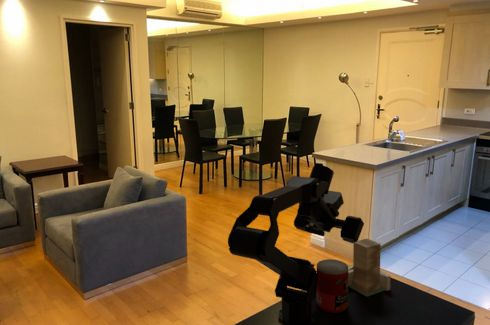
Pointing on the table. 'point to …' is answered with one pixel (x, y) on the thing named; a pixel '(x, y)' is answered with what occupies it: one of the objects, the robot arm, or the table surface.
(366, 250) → the maple block
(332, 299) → the canned food
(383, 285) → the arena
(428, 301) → the table surface
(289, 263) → the robot arm
